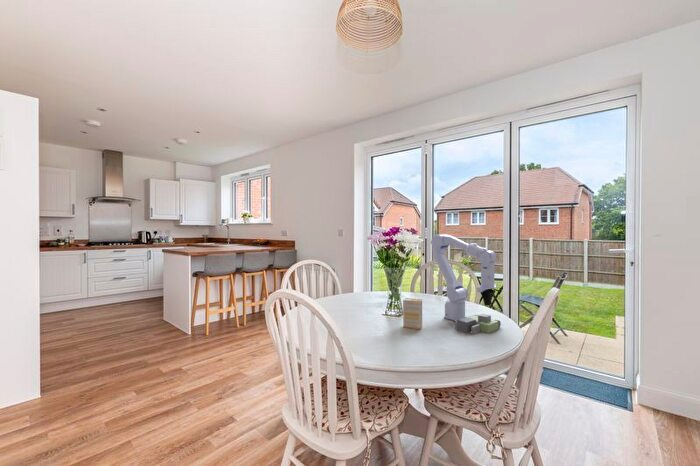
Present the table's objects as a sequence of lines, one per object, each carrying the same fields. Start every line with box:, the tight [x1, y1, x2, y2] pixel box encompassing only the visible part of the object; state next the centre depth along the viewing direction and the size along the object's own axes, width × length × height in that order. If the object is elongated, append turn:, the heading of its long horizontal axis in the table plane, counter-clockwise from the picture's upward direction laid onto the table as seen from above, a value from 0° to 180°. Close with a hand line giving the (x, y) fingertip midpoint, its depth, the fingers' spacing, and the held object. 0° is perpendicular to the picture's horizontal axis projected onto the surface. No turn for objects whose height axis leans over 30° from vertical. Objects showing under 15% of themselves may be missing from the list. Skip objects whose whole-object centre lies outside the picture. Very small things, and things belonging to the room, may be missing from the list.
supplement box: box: [402, 297, 423, 330], centre depth 144 cm, size 8×5×13 cm, turn 65°
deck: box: [454, 313, 502, 335], centre depth 142 cm, size 12×18×6 cm
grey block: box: [456, 316, 476, 334], centre depth 139 cm, size 5×7×5 cm
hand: (487, 305), depth 144 cm, fingers closed
